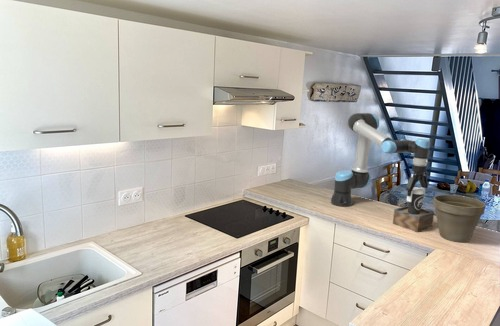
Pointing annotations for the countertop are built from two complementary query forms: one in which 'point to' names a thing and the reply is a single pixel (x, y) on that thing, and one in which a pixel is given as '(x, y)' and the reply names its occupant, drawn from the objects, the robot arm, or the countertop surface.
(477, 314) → the countertop surface
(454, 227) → the plant pot
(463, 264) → the countertop surface
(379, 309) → the countertop surface
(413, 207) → the coffee cup
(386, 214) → the countertop surface
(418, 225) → the wooden box
